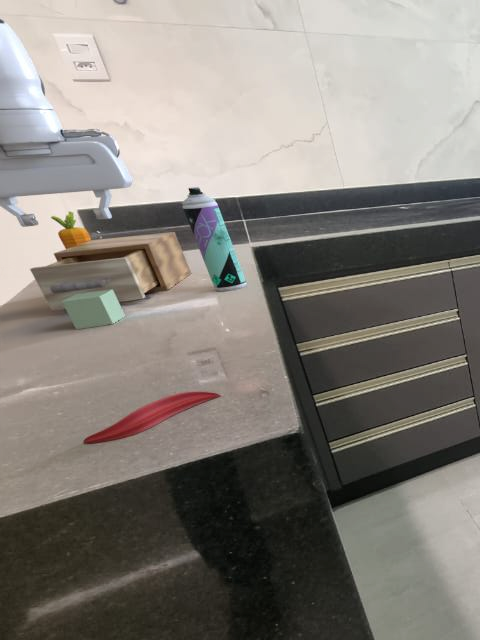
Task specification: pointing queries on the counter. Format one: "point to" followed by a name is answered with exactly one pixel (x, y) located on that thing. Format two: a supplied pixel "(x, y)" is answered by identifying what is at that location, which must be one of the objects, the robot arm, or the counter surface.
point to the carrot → (71, 232)
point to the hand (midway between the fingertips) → (68, 222)
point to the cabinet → (157, 246)
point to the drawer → (97, 276)
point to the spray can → (213, 241)
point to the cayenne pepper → (151, 415)
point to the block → (93, 309)
